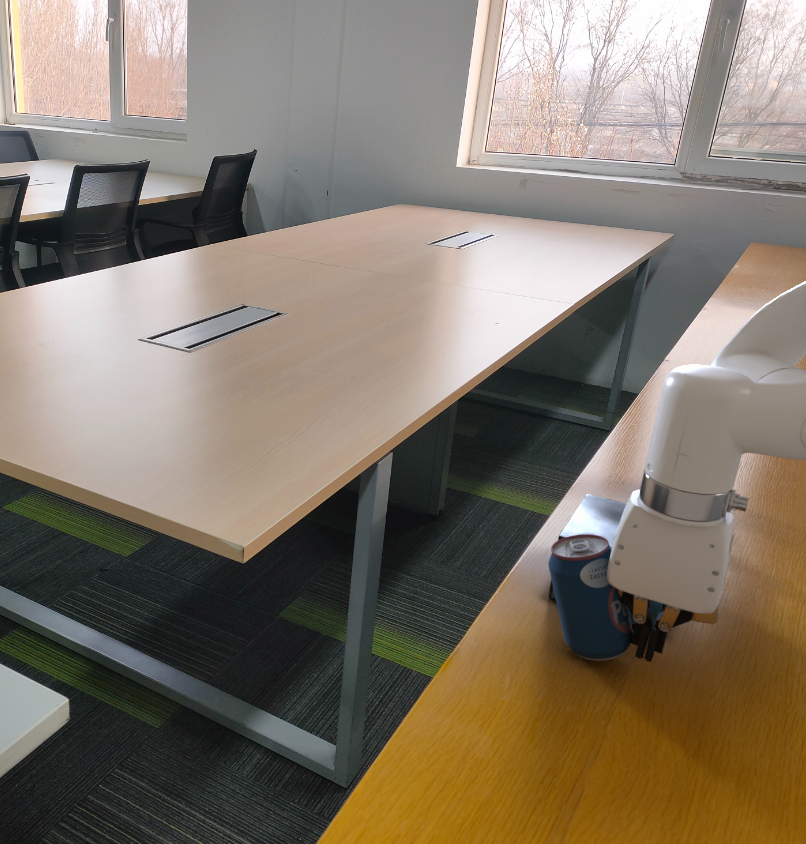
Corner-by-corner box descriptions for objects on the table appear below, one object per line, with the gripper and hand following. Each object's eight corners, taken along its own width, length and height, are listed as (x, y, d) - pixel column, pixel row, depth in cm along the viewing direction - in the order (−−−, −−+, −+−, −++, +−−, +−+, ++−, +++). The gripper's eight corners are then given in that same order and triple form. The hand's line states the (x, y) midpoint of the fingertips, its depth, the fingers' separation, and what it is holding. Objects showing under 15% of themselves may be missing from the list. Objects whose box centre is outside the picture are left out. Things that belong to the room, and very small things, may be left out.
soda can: (641, 660, 82) (620, 554, 80) (570, 667, 84) (548, 564, 82) (628, 626, 89) (609, 527, 86) (562, 634, 91) (542, 537, 88)
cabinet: (662, 634, 90) (677, 569, 87) (547, 597, 97) (558, 535, 94) (680, 581, 101) (695, 520, 97) (576, 550, 107) (587, 493, 104)
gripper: (776, 501, 76) (730, 660, 82) (608, 463, 83) (578, 611, 90) (773, 533, 70) (723, 702, 76) (592, 488, 77) (562, 645, 84)
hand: (645, 652), depth 83 cm, fingers closed
